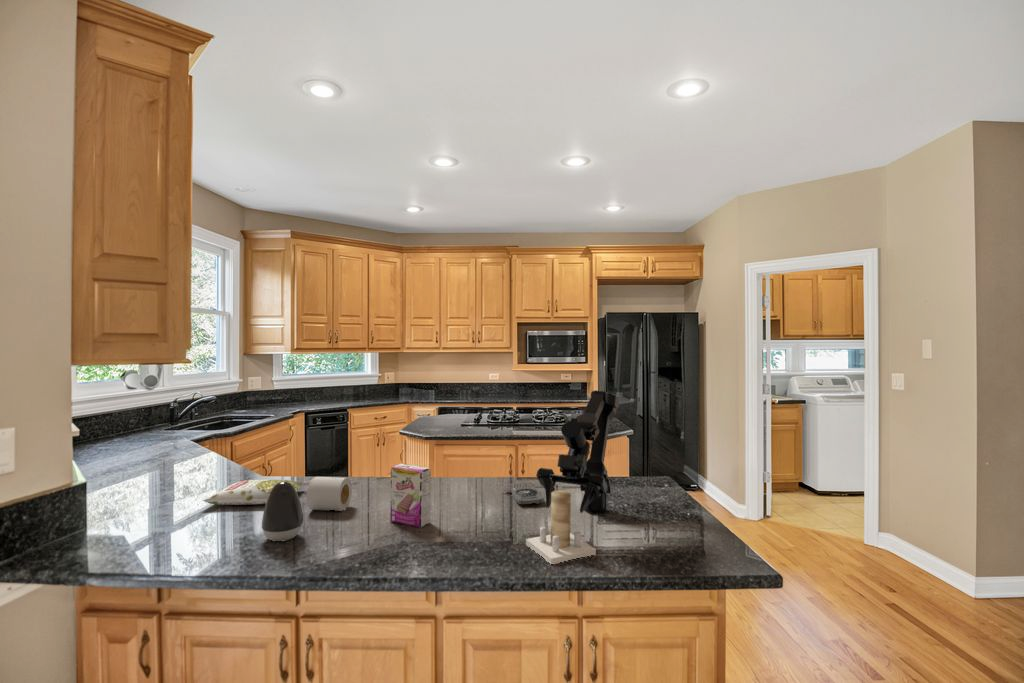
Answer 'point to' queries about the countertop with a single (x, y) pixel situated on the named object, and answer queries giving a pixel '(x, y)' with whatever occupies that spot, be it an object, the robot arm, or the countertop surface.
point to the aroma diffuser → (282, 513)
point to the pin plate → (559, 554)
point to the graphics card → (524, 493)
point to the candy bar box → (410, 495)
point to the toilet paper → (329, 493)
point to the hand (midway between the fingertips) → (564, 509)
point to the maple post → (561, 517)
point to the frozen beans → (247, 492)
